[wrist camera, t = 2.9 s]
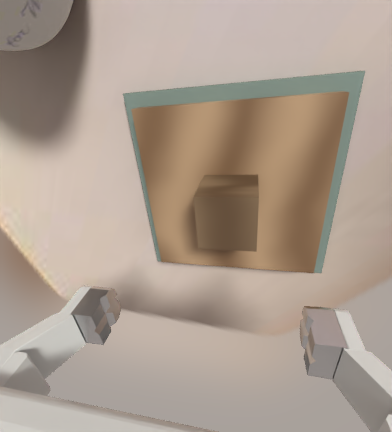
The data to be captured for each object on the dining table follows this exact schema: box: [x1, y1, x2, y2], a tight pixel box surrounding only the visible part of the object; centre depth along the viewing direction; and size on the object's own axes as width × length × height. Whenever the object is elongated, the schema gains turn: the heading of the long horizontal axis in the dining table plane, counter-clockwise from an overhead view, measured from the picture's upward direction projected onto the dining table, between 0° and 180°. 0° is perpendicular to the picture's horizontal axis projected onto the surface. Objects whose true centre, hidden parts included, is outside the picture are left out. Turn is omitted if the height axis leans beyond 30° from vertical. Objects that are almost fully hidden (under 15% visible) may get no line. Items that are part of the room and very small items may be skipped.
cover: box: [131, 91, 349, 273], centre depth 18 cm, size 14×14×5 cm
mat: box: [123, 71, 365, 273], centre depth 20 cm, size 16×16×1 cm
